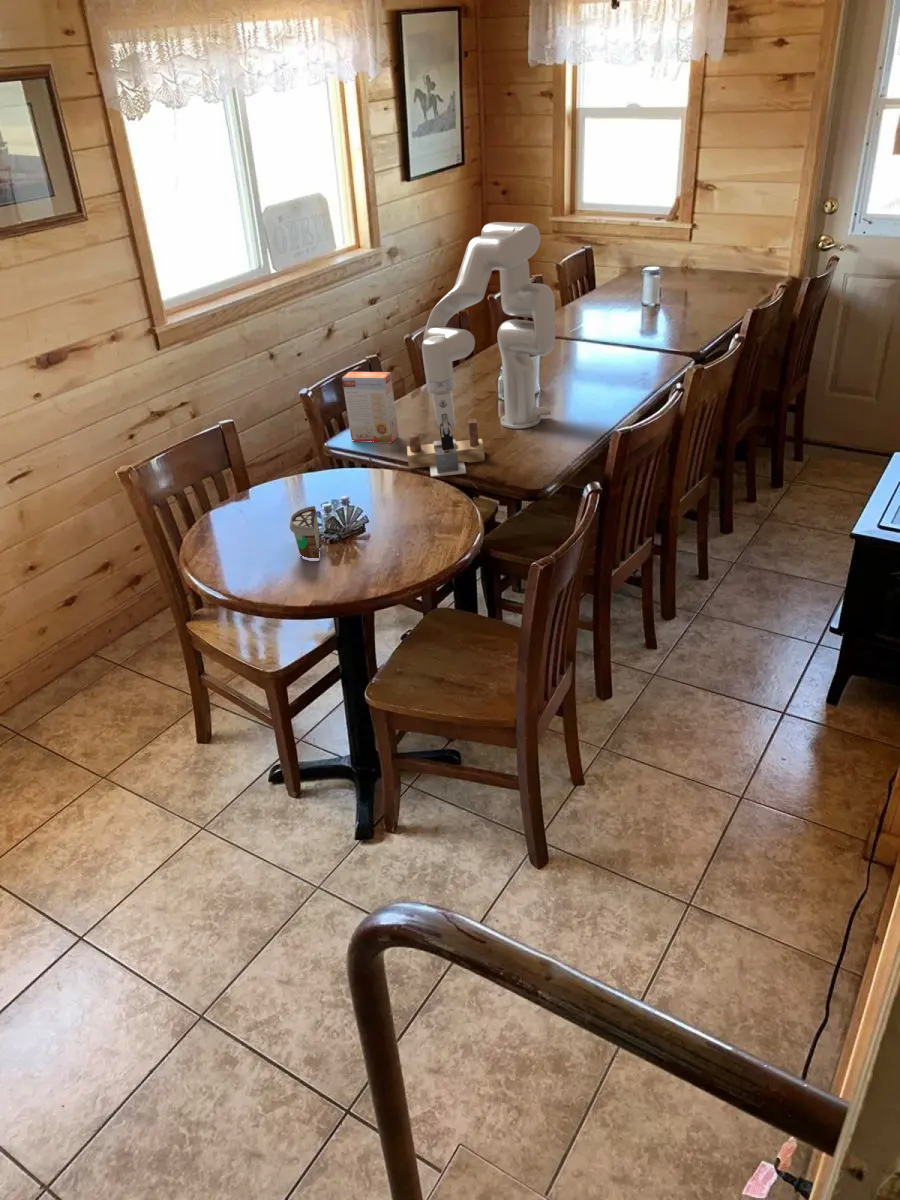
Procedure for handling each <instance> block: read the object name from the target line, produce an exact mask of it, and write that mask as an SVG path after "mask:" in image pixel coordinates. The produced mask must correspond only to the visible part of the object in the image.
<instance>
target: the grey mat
mask: <svg viewBox="0 0 900 1200" xmlns="http://www.w3.org/2000/svg"><path fill="white" fill-rule="evenodd" d="M458 470H459V471H454V472H444V473H437V466H436V465H433V466H429V472H430V473H429V474H430V477H431V478H436V477H443V476H444V477H445V476H454V475H464V474H467V471H466V470H467V469H466V465H465V463H464V462H462V463H458Z"/></svg>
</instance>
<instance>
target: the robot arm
mask: <svg viewBox="0 0 900 1200" xmlns="http://www.w3.org/2000/svg"><path fill="white" fill-rule="evenodd" d="M540 243H541V233H540V230H539V228H538V227H537V226H536V225H535V224H532V223H529V222H509V221H506V222H505V221H493V222H489V223H486V224H485V225H484V226H483V228H482V229H481V234H480V235H478V236H474V237H473V238H472V239H471V240H469V242H468V244H467V246H466V249H465V252H464V256H463V259H462V262H461V265H460V268H459V271H458V275H457V277H456V279H455V283H454V285H453V288H452V289H451V290H450V291H449V292H448V293H446V294H445V295H444V296H443V297H442V298H441V299H440V300H439V301H438V302H437V303H436V305H435V306H434V307H433V309H432V310H431V312H430V314H429V317H428V319H427V322H426V325H425V328H424V333H423V337H422V338H423V339H422V340H423V341H422V343H421V352H422V360H423V362H422V363H423V368H424V376H425V383H426V392H427V393H428V394H431V396H432V403H433V410H434V414H435V419H436V423H437V426H438V429H439V433H440V438H441V439H440V441H441V442H442V449H443V450H450V449H454V444H453V439H454V438H453V437H454V436H453V434H452V428H453V427H456V419H455V418H456V416H455V411H454V410H455V408H454V402H453V401H454V400H453V394H452V393H453V392H452V391H454V389H456V388H455V380H454V370H453V362H454V361H458V360H462V359H464V358H467V357H468V356H469V355H470V354H472V352H473V350H474V349H475V346H476V345H475V344H476V339H475V336H474V334H473V333H472V332H470V331H469V330H467V329H464V328H462V329H461V328H454V327H447V326H446V325H447V323H448V322H449V321H450V319H451V318H452V317H453V316H455V314H457V313H459V312H461V311H462V310H464V309H466V308H469V307H471V306H474V305H476V304H478V303H480V302H482V300H483V299H484V298H485V294H486V292H487V291H486V290H487V288H488V284H489V282H490V279H491V277H492V274H493V273H492V272H493V271H499V281H500V282H499V283H500V284H499V285H500V301H501V309H502V311H503V312H504V314H506V315H508V316H512V317H519V318H520V317H522V318H523V317H524V318H531V319H532V320H527V319H526V320H524V319H508V320H505V321H504V322H502V323H501V324H500V325H499V328H498V329H497V335H496V337H497V344H498V348H499V351H500V356H501V365H502V382H503V384H502V385H503V395H504V396H503V399H504V403H503V404H504V415H503V416H501V417H500V419H499V420H500V424H501V425H502V426H503V427H506V428H508V429H528V428H531V427H535V426H537V425H538V424H539V423H540V422H541V416H548V415H551V408H550V407H549V408H546V407H545V406H541V407H538V406H537V404H536V396H535V395H536V394H535V393H536V392H535V366H534V361H533V359H532V357H531V356H540V357H542V356H547V355H550V353H552V351H553V349H554V346H555V343H556V342H555V341H556V300H555V295H554V292H553V290H552V288H551V287H550V286H549V285H547V284H544V283H537V282H536V283H535V282H532V281H531V278H530V264H529V259H531V258H532V257H533V256H534V255H535V254H536V252H537V251H538V249H539V248H540ZM530 355H531V356H530Z"/></svg>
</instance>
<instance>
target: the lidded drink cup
mask: <svg viewBox="0 0 900 1200" xmlns="http://www.w3.org/2000/svg"><path fill="white" fill-rule="evenodd" d="M289 529H290V531H291V532H292V533H294V537H295V541H296V544H297V549H298V551H299V555H300V554H301V555H302V556H304V557H307V558H319V548H320V538H321V535H320V528H319V521H318V514H317V509H316V506H315V505H312V506H307V507H304V508H301V509H299V510H297V511H296V512H294V513H293V514H292V515H291V517H290V520H289ZM319 536H320V537H319Z"/></svg>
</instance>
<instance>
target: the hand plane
mask: <svg viewBox="0 0 900 1200" xmlns="http://www.w3.org/2000/svg"><path fill="white" fill-rule="evenodd" d="M467 427H468V438H469V439H467V440H465V439H464V440H457V441H456V438H453V444H454V447H456V450H457V458H458V463H462V462H468V463H475V462H476V463H477V462H485V459H486V458H485V448H484V447H485V446H484V443H483V439H482V438H479V431H478V429H479V428H478V420H477V419H476V418H472V419H468V420H467ZM408 443H409V446H408V445H407V446H406V452H407V455H406V456H407V462H408V469H417V468H418V469H420V468H428V467H429V468H430V466H433V465H436V456H435V449H440V448H442V442H441V440H433V443H426V444H422V441H421V435H420V434H419V433H411V434H410V435H408Z"/></svg>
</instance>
